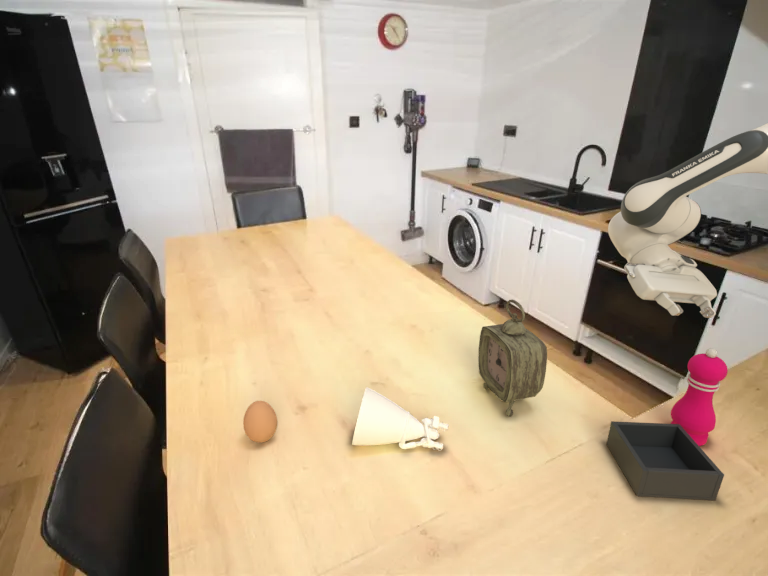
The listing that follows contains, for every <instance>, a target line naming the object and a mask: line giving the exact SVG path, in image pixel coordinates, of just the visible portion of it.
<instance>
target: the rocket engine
mask: <svg viewBox="0 0 768 576" xmlns="http://www.w3.org/2000/svg"><path fill="white" fill-rule="evenodd" d="M420 421H421V422H420ZM439 428H440V429H439ZM437 429H438V430H437ZM439 430H442V431H443V432H446V431H448V430H449V423H444V422H443V421H440V417H439V416H437V415H433V417H432V418H429V417H424V418H421V420H419V419H418V418H416V417H415V416H414V415H413V414H411V412H410V411H409V410H406V409H405V408H403V407H401V406H400V405H399V404H397V403H396V402H394V401H393V400H391V399H390V398H388V397H386V396H385V395H383V394H381V393H379V392H378V391H377V390H374V389H372V388H370V387H368V386H366V387H365V389H364V392H363V395H362V399H361V403H360V407H359V411H358V415H357V420H356V423H355V427H354V432H353V436H352V441H351V445H352V446H381V445H390V444H397V443H398V447H399V448H400V449H402V450H409V449H414V448H416V447H423V448H428V449H433V451H435V450H438V451H443V449H444V443H442V442H440V441H435V440H437V439H439V438H440V433H439ZM420 438H421V439H420ZM418 439H420V441H419V440H418ZM414 440H418V441H414ZM408 441H409V442H408ZM406 442H407V443H406Z"/></svg>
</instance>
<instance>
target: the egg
mask: <svg viewBox="0 0 768 576" xmlns="http://www.w3.org/2000/svg"><path fill="white" fill-rule="evenodd" d="M242 421H243V430H244V433H245V435H246V436H247V438H248V439H249V440H251V441H253V442H254V443H265V442H268V441H269V440H271V439H272V437H273V436H274V435H275V433H276V432H277V427H278V417H277V414H276V411H275V409H274V408H273V407H272V405H270V404H269V403H268V402H267V401H265V400H256V401H253V402H252V403H251V404H249V405H248V406H247V409H246V410H245V413H244V416H243V420H242Z"/></svg>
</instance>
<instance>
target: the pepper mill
mask: <svg viewBox="0 0 768 576" xmlns="http://www.w3.org/2000/svg"><path fill="white" fill-rule="evenodd" d="M718 355H719V353H718V351H717V350H716V349H715V348H711V347H710V348H708V349H706V350H705V353H697V354H695V355H693V356H692V357H691V358H689V360H688V361H687V370H688V372H689V373H688V375H687V378H686V382H687V384H688V385H687V389H686V391H685V394H684V395H683V396H682V397H681V398H680V399H679V400H677V401H676V402H675V403H674V404H673V406H672V408H671V410H670V419H672V420H671V422H670V424H680V425H681V426H682V427H683V429H684V430H685V431H686V432H687V433H688V434H689V435H690V437H691V438H692V439H693V440H694V441H695V442H696V443H697V444H698V446H699V447H701V446H704V445H706V444H707V442H708V440H709V436H710V435H709V433H710V432H712V431H714V429H715V428H716V424H717V416H716V412H715V409H714V405H713V400H714V394H715V392H718V391H719V390H720V386H721V382H722V381H723V380H724V379H726V378H727V375H728V371H729V370H728V366H727V363H726V362H725V360H723V359H722V358H721V357H719V356H718Z"/></svg>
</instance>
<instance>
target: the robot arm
mask: <svg viewBox="0 0 768 576" xmlns="http://www.w3.org/2000/svg"><path fill="white" fill-rule="evenodd" d="M740 174H741V175H742V174H764V175H768V122H767V123H765V124H763V125H760V126H758V127H755V128H752V129H750V130H747V131H744V132H741V133H738V134H736V135H733V136H731V137H729V138H727V139H725V140H723V141H721V142H719V143H717V144H715V145H713V146H711V147H709V148H707V149H706V150H703V151H702V152H700V153H699V154H697V155H695V156H693V157H691V158H689V159H688V160H685V161H684V162H682V163H680V164H678V165H677V166H674V167H672V168H671V169H669V170H667V171H664V172H663V173H660V174H658V175H655V176H652V177H648V178H645V179H642V180H639V181H638V182H636V183H634V184H633V185H632V186H631V187H630V188H629V189H628V190H627V191H626V192H625V194H624V195H623V197H622V200H621V204H620V211H619V212H617V213H615V215H614V216H612V218H611V219H610V221H609V223H608V226H607V233H608V236H609V238H610V241H611V242H612V244H613V246H614V247H615V249H616V250H617V252H618V253H619V254H620V256H621V257H623V258H624V259H625V260H626V261H627V263H626V264H625V265H624V268H623V269H624V271H625V273H626V274H627V275H626V278H627V280H628V282H629V284H630V286H631V288H632V290H633V291H634V293H635V295H636V296H637V297H639V298H640V299H641V300H644V301H655V302H656V303H657V304H658V305H659V306H661V307H662V308H664V309H665V310H666V311H667V312H668V313H669V314H670V315H671V316H675V317H676V316H677V317H679V316H680V315H681V314H683V313H684V309H683V308H682V307H681V305H680V304H678V303H683V304H684V303H685V304H694V305H696V306H697V307H699V308H700V311H699V313H700V314H701V315H702V317H703V318H707V319H712V318H714V316H716V315H717V313H716V311H715V309H714V308H713V307H712V303H711V302H712V300H714V299H715V298H717V296H718V292H717V289H716V288H715V286H714V284H713V283H711V281H710V280H709V279H708V278H707V276H706V275H705V274H704V273H703V272H702V271H701V270H700V269H698V268H697V267H698V264H697V262H696V261H695V259H692V258H690V257H687V256H686V255H685V256H684V255H682V254H680V253H679V252H677V251H676V250H672V248H671V247H670V246H671V245H672V244H673V243H676V242H677V241H679V240H681V239H683V238H684V237H686V236H688V235H689V234H690V233H692V232H693V231H694V230H696V228H697V226H698V225H699V223H700V221H701V219H702V209H701V207H700V205H699V204H698V202H696V201H695V200H694V199H691V198H690V197H688V196H689V195H691V194H693V193H695V192H697V191H699V190H701V189H703V188H705V187H707V186H709V185H711V184H714V183H716V182H717V181H719V180H722V179H724V178H726V177H730V176H734V175H740Z"/></svg>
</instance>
